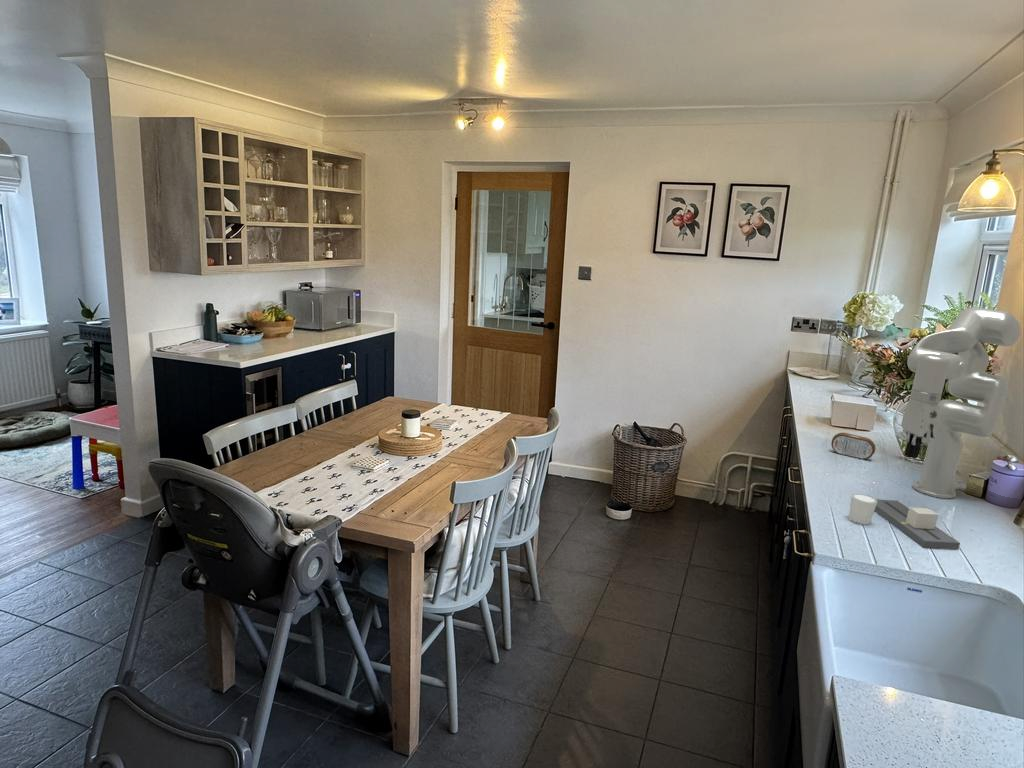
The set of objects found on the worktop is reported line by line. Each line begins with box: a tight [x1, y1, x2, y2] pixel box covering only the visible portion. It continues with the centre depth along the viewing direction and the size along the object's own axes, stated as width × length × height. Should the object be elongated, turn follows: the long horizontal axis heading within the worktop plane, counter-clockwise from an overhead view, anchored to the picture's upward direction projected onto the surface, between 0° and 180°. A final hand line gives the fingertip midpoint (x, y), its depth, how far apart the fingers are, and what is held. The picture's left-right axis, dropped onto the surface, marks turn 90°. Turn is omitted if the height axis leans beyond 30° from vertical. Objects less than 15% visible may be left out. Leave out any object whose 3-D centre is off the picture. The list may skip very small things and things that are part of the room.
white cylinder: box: [848, 493, 877, 525], centre depth 199 cm, size 7×7×7 cm
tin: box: [830, 432, 876, 461], centre depth 258 cm, size 15×3×8 cm, turn 58°
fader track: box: [874, 498, 961, 550], centre depth 199 cm, size 28×10×2 cm, turn 4°
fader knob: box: [906, 506, 939, 529], centre depth 194 cm, size 4×6×4 cm, turn 94°
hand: (911, 456), depth 201 cm, fingers closed
